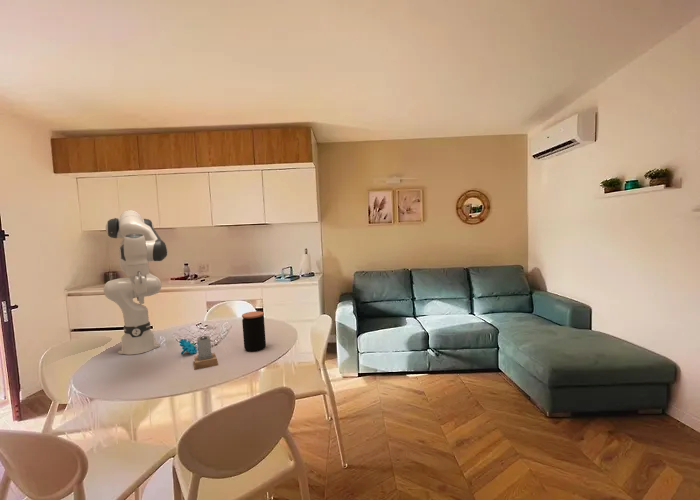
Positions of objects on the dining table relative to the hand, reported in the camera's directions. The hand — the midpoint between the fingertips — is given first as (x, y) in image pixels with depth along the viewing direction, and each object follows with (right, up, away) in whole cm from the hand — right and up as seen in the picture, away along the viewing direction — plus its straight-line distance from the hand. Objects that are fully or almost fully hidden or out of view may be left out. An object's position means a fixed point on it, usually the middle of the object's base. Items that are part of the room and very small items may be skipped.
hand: (140, 302), depth 156 cm
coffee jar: (+44, -28, +25) cm, 57 cm away
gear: (+11, -29, +23) cm, 39 cm away
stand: (+26, -29, +7) cm, 40 cm away
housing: (+26, -26, +7) cm, 37 cm away
